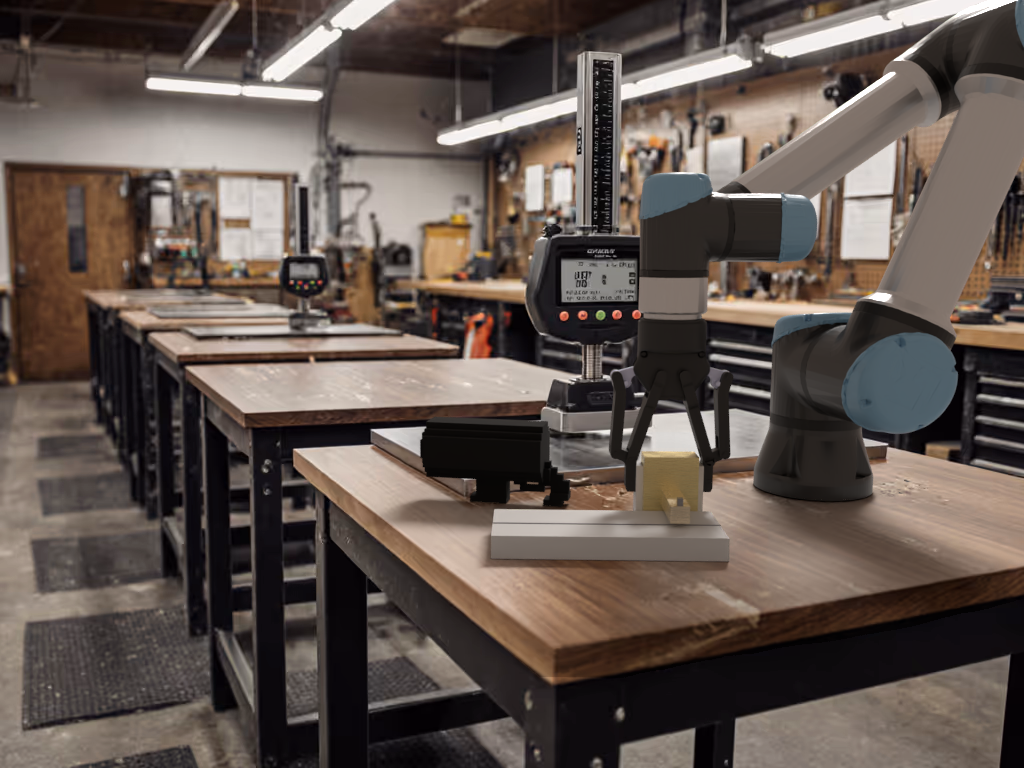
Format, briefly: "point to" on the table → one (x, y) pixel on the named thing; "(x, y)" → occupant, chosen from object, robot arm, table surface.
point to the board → (606, 536)
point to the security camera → (493, 457)
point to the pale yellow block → (670, 484)
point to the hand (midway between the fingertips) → (667, 518)
